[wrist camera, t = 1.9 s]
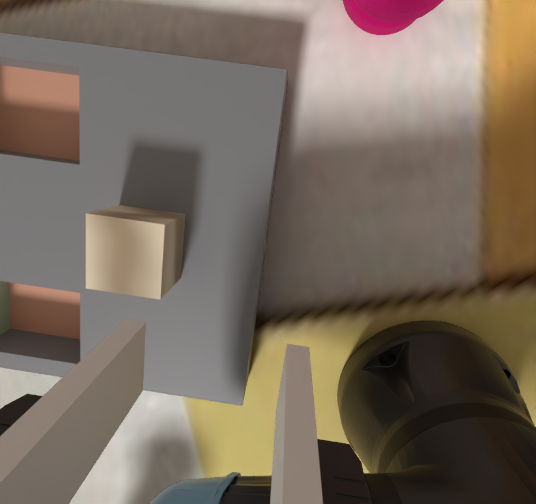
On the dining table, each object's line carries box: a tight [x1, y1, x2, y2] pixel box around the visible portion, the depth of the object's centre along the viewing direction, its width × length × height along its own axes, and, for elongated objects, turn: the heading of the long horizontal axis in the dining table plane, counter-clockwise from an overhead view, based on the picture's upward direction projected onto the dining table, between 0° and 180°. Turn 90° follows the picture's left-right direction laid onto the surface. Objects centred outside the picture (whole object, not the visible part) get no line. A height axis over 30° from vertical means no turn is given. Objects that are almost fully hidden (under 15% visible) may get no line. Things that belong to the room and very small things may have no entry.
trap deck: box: [0, 33, 288, 406], centre depth 29 cm, size 34×26×4 cm
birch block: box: [86, 205, 185, 300], centre depth 25 cm, size 5×5×4 cm
